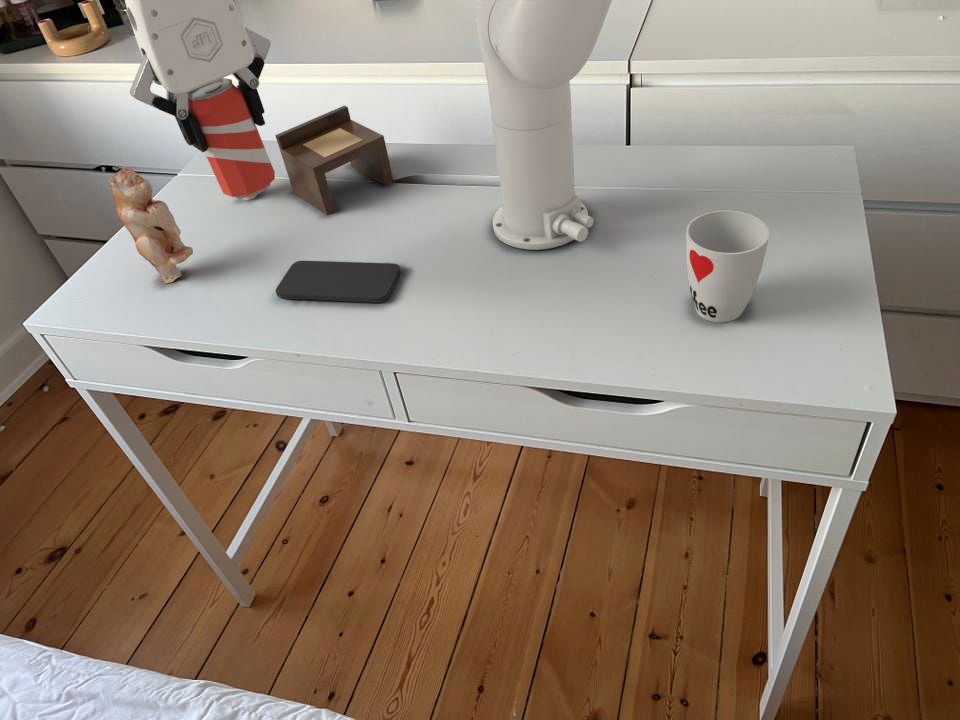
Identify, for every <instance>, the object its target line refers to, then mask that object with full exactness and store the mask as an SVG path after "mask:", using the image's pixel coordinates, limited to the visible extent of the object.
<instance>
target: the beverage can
mask: <svg viewBox="0 0 960 720" xmlns="http://www.w3.org/2000/svg"><path fill="white" fill-rule="evenodd" d="M188 109H189V112H190V113H191V114H192V115H194V116H195V117H196V119H197V121H198V124H199V126H200V129H201V131H202V134H203V136H204V138H205V141H206V143H207V146H208V149H207V151H205V152H204V154H205V156H206V159H207V162H208V163H209V166H210V167H211V170H212V172H213V174H214V176H215V178H216V181H217V182H218V185H219V187H220V190H221V191H222V194H223V195H226V196H229V197H231V198H237V199H243V198H247V197H252V196H254V195H257V194H261V193H263V192H265V191H266V190H267V189H268V188H269V187H270V186H271V183H273V182H274V181H275V180H276V177H275V174H276V172H275V169H274V167H273V165H272V162H271V159H270V157H269V155H268V153H267V150H266V148H265V145H264V142H263V139H262V137H261V135H260V131H259V130H258V128H257V125H256V124H255V123H254V120H253V118H252V115H251V113H250V110H249V108H248V105H247V102H246V100H245V98H244V95H243V93H242V91H240V90H239V89H238V88H237V85H235V84H233V80H232V79H231V78H228V77H227V78H226V77H224V78H221V79H219V80H217V81H214V82H212V83H209V84H207V85H204V86H202V87H199V88H197V89H194V90H192V91H189V96H188ZM257 196H258V195H257Z"/></svg>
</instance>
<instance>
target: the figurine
mask: <svg viewBox="0 0 960 720" xmlns="http://www.w3.org/2000/svg"><path fill="white" fill-rule="evenodd" d="M108 182H109V184H110V189H111V192H112V196H113V200H114V204H115V209H116V214H117V216H118V218H119V220H120V222H121V223H122V225H123V226H124V227H125V229H126V230H127V231H128V232H129V234H130V235H131V237H132V239H133V241H134V243H135V249H136V251H137V252H138V254H139V255H140V256H141V257H142V258H143V259H144V260H146V261H148V262H149V263H150V265H151V267H153V268H154V269H155V270H156V271H157V272H158V275H159V276H160V278H161V279H160V282H161V283H163V284H170V283H173V282H174V281H175V280H176V279H178V278H181V277H182V275H183V274H182V271H181V270H180V269H179V268H178V267H177V265H180V264H181V263H184V262H185V261H186V260H187V259H189V258H190V257H191V255H193V254H194V248H193V247H192V246H187V245H185V244H184V242H183V241H182V239H181V237H180V235H181V233H182V232H181V229H180V228H179V226H178V224H177V222H176V220H175V217H174V215H173V214H172V212H171V211H170V209H169V206H168V204H167V203H166V202H165V201H163V200H155V199H154V198H153V187H152V185H151V183H150V181H149V180H148V179H146V178H144V177H143V176H142V175H140V174H139V173H137V172H135V171H134V169H133V167H130V166H123V167H121V168H120V169H119V170H118V171H117V172H116V173H115V174H114V175H112V176H111V178H110V179H109V181H108Z"/></svg>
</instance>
